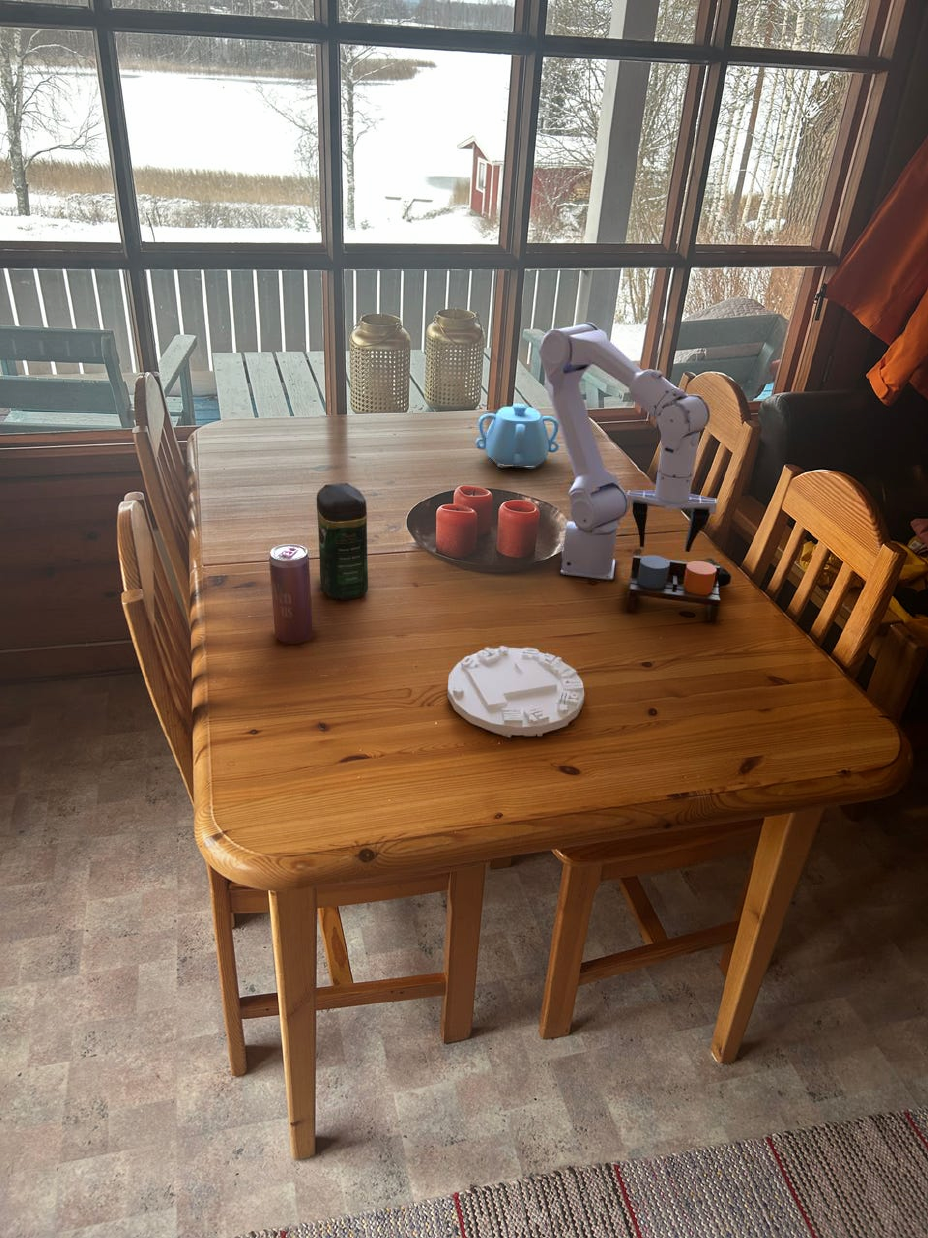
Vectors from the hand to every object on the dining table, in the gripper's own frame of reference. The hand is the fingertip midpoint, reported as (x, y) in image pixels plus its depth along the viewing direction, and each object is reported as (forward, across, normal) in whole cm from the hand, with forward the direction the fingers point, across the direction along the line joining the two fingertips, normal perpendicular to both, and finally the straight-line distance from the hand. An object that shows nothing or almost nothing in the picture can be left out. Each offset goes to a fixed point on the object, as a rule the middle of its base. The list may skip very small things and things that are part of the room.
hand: (664, 546), depth 156 cm
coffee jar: (+10, -54, -10) cm, 56 cm away
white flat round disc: (+11, -20, -35) cm, 42 cm away
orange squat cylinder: (+6, +6, -1) cm, 9 cm away
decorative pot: (+9, -34, +59) cm, 69 cm away
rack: (+10, +2, -1) cm, 11 cm away
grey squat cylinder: (+6, -1, -1) cm, 7 cm away
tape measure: (+11, +9, +9) cm, 17 cm away
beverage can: (+10, -57, -27) cm, 64 cm away
